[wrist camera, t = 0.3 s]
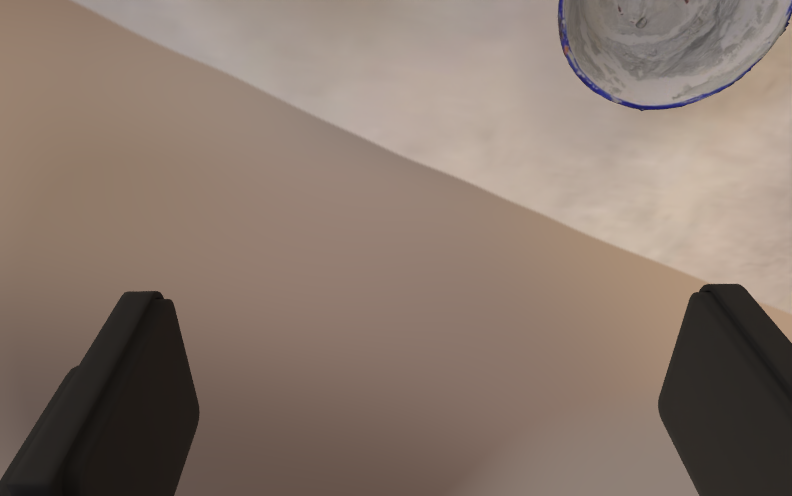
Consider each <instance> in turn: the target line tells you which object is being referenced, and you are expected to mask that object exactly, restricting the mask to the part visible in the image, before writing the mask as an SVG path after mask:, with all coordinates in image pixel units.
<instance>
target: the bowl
mask: <svg viewBox="0 0 792 496" xmlns="http://www.w3.org/2000/svg"><path fill="white" fill-rule="evenodd" d="M791 14H792V0H559V5H558V26H559V35H560V41H561V45H562V49H563V52H564V54H565V56H566V58H567V60H568V62H569V65H570V66H571V68H572V69H573V71H574V72H575V74H576V75H577V76H578V77H579V78H580V80H581V81H582V82H583V83H584V84H585V85H586V86H587V87H589V88H590V89H591V90H592V91H594V92H595V93H597V94H599V95H601V96H603V97H604V98H606V99H608V100H610V101H612V102H615V103H618V104H621V105H624V106H627V107H630V108H636V109H639V110H641V111H643V110H659V109H669V108H676V107H682V106H685V105H687V104H691V103H694V102H696V101H699V100H702V99H704V98H707V97H709V96H711V95H713V94H715V93H718V92H720V91H722V90H723V89H725V88H727V87H729V86H731V85H732V84H734V82H735V81H737V80H739V79H741V78H742V77H743V76H744V75H745V74H746V72H748V71H750V70H751V68H752V67H753V66H754V65H755V64H756V63H757V62H759V61H760V60H761V59H762V58H763V57H764V56H765V54H766V53H767V52H768V51H769V50H770V48H771V47H772V46H773V44H774V43H775V42H776V40H777V39H778V37H779V36H781V35H782V33H783V32H784V31H785V30H786V29H785V28H786V27H787V26H788V24H789V23H788V21H789V20H790V17H791Z"/></svg>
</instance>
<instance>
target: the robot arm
mask: <svg viewBox="0 0 792 496" xmlns="http://www.w3.org/2000/svg"><path fill="white" fill-rule="evenodd" d="M658 408H659V413H660V417H661V419H662V421H663V424H664V425H665V427H666V430H667V431H668V434H669V436H670V438H671V439H672V442H673V444H674V445H675V448H676V449H677V452H678V454H679V456H680V458H681V460H682V461H683V464H684V466H685V468H686V469H687V472H688V474H689V476H690V478H691V480H692V481H693V484H694V486H695V488H696V490H697V492H698V494H699V496H792V343H791V342H790V341H789V340H788V338H787V337H786V336H785V335H784V334H783V333H782V331H781V330H780V329H779V328H778V327H777V326H776V324H775V323H774V322H773V321H772V320H771V319H770V317H769V316H768V315H767V314H766V313H765V311H764V310H763V309H762V308H761V307H760V306H759V304H758V303H757V302H756V301H755V300H754V299H753V297H752V296H751V295H750V294H749V293H748V291H747V290H746V289H745V288H744V287H743V286H741V285H739V284H707V285H704V286H703V287H702V288H701V289H700V291H699V292H696V293H693V294H692V296H691V297H690V300H689V303H688V306H687V309H686V312H685V316H684V319H683V322H682V325H681V328H680V332H679V335H678V338H677V341H676V344H675V348H674V351H673V354H672V357H671V361H670V364H669V367H668V370H667V373H666V377H665V380H664V383H663V386H662V390H661V393H660V396H659V400H658ZM198 421H199V404H198V400H197V396H196V392H195V388H194V384H193V380H192V376H191V372H190V368H189V364H188V359H187V355H186V352H185V348H184V343H183V340H182V336H181V331H180V327H179V323H178V319H177V315H176V311H175V307H174V304H173V302H172V300H170V299H164V298H163V296H162V294H161V293H160V292H158V291H143V292H125V293H124V294H123V295H122V296H121V298H120V300H119V301H118V303H117V304H116V306H115V308H114V309H113V311H112V313H111V314H110V316H109V317H108V319H107V321H106V323H105V324H104V326H103V327H102V329H101V330H100V332H99V334H98V335H97V337H96V339H95V340H94V342H93V343H92V345H91V347H90V348H89V350H88V352H87V353H86V355H85V357H84V358H83V360H82V361H81V363H80V365H79V366H76V367H74V368H73V369H71V370H70V372H69V373H68V374H67V375H66V376H65V378H64V380H63V381H62V383H61V384H60V386H59V388H58V389H57V391H56V392H55V394H54V396H53V397H52V399H51V400H50V402H49V403H48V405H47V407H46V408H45V410H44V411H43V413H42V415H41V416H40V418H39V420H38V421H37V423H36V424H35V426H34V427H33V429H32V431H31V432H30V434H29V435H28V437H27V438H26V440H25V442H24V443H23V445H22V446H21V448H20V450H19V451H18V453H17V454H16V456H15V458H14V459H13V461H12V463H11V464H10V466H9V467H8V469H7V471H6V472H5V474H4V475H3V477H2V479H1V480H0V496H174V494H175V491H176V488H177V485H178V482H179V479H180V476H181V473H182V470H183V467H184V464H185V461H186V458H187V455H188V452H189V449H190V446H191V443H192V440H193V438H194V435H195V432H196V428H197V425H198Z"/></svg>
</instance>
